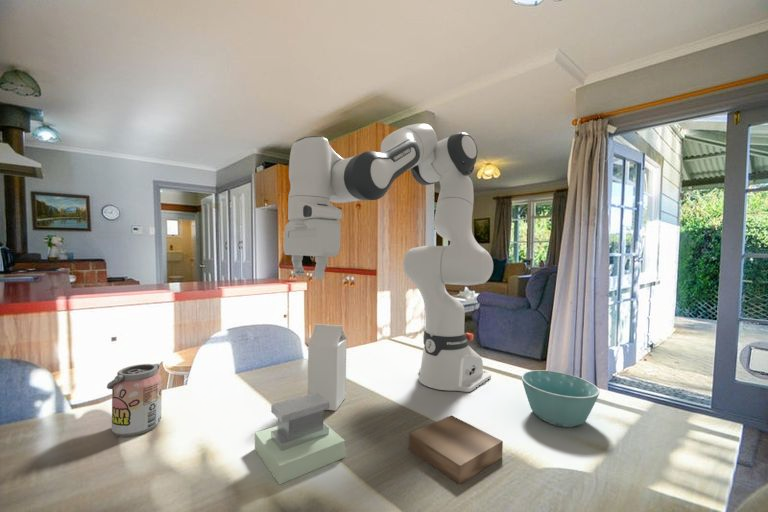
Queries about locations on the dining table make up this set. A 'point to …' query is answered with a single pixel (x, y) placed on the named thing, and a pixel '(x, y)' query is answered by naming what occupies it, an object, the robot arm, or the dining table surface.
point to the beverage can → (136, 400)
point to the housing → (299, 421)
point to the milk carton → (327, 364)
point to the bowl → (559, 397)
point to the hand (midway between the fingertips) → (308, 277)
